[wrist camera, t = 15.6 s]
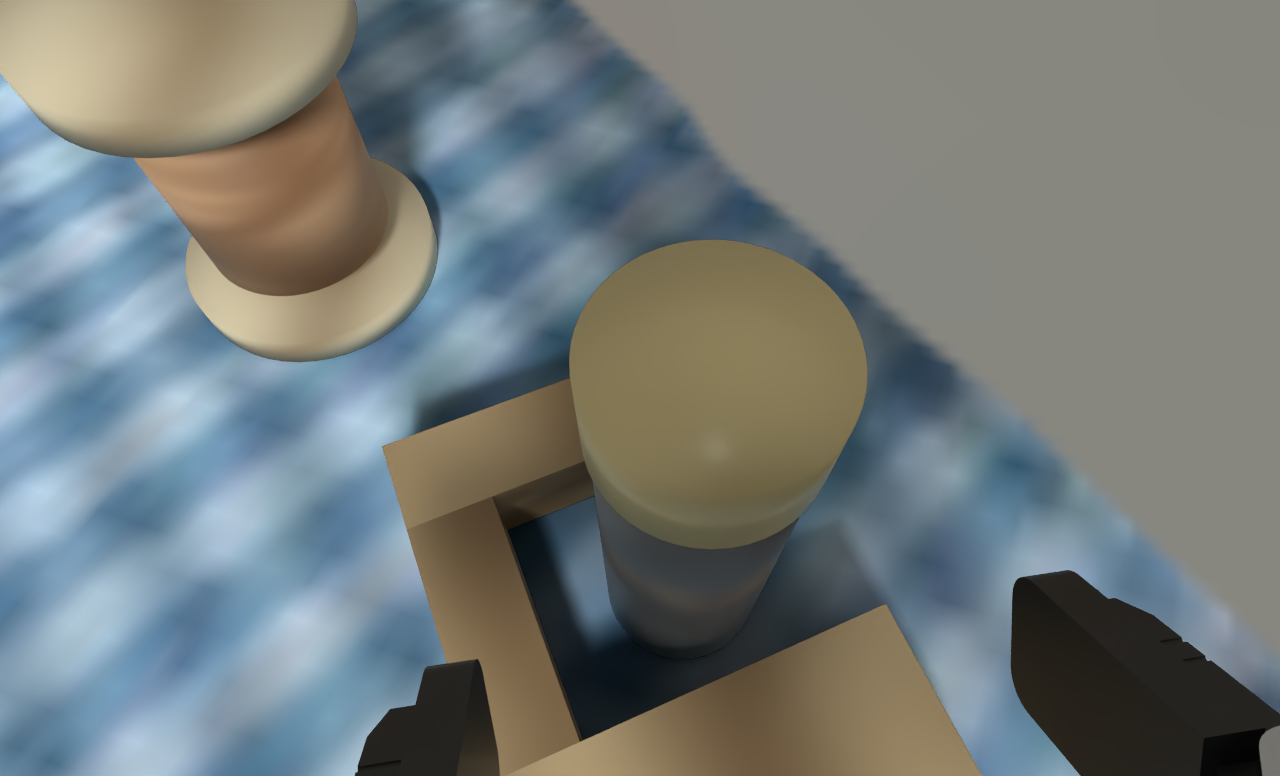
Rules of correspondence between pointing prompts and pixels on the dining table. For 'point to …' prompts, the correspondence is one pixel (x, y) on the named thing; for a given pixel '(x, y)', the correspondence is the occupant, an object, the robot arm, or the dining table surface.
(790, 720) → the tan c-shaped clamp
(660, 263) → the grey cylinder tan cap
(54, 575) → the dining table surface
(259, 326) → the bobbin
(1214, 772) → the robot arm
